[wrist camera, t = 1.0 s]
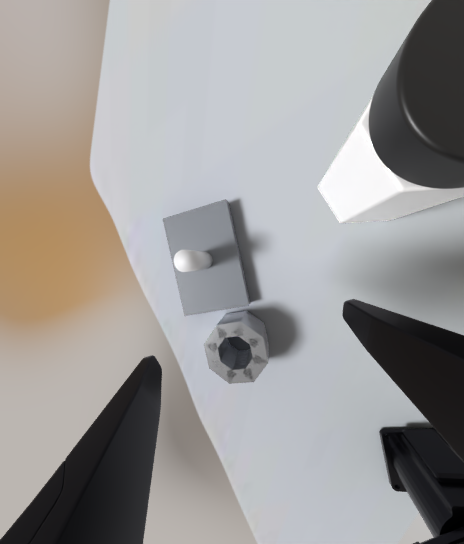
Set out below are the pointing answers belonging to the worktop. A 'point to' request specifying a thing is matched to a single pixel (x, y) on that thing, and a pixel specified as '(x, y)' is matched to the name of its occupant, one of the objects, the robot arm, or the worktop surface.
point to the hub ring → (228, 358)
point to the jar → (407, 128)
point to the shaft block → (206, 259)
